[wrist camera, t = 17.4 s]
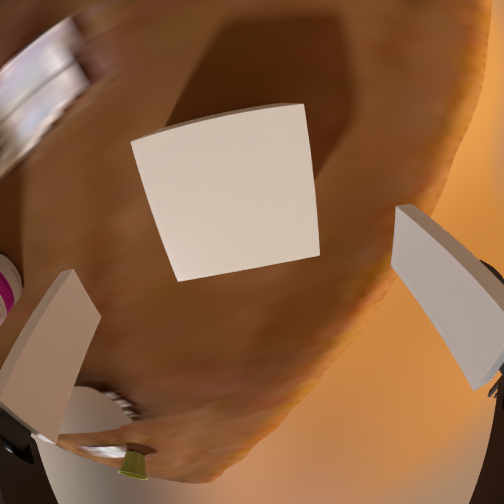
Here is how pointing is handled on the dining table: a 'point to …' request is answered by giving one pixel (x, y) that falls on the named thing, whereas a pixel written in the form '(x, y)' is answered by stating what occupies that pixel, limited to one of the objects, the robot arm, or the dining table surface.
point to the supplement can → (8, 286)
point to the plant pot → (134, 465)
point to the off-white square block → (232, 189)
